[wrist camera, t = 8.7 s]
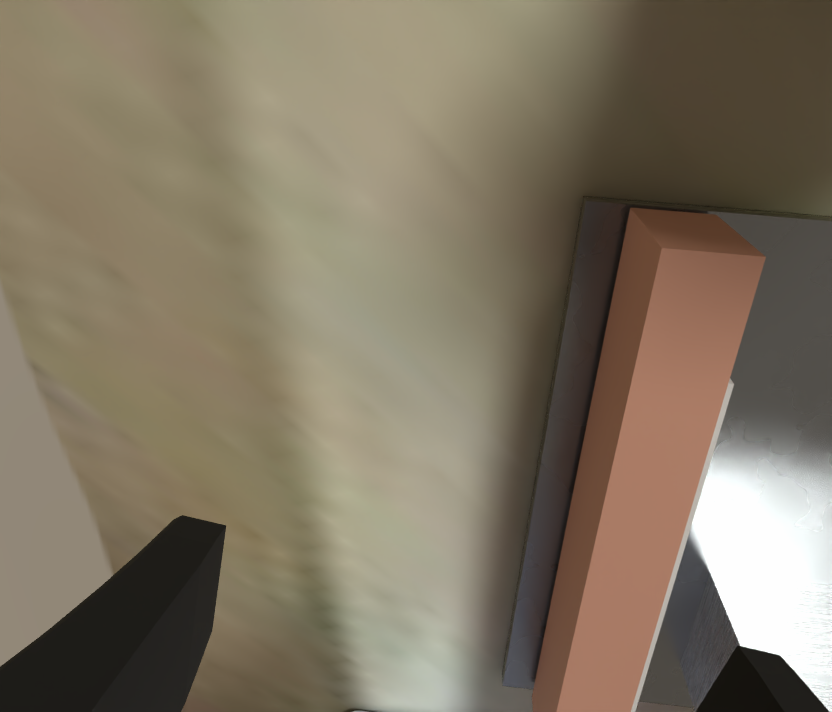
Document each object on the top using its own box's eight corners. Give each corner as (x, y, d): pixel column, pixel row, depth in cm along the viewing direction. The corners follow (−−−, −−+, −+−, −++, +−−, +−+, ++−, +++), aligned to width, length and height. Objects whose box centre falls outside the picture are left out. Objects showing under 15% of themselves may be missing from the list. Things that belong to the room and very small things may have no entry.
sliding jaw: (599, 704, 24) (615, 798, 21) (531, 696, 24) (538, 788, 21) (728, 215, 16) (781, 258, 14) (630, 207, 17) (661, 247, 14)
